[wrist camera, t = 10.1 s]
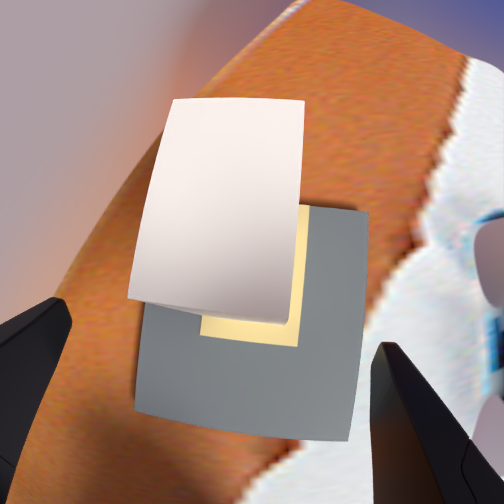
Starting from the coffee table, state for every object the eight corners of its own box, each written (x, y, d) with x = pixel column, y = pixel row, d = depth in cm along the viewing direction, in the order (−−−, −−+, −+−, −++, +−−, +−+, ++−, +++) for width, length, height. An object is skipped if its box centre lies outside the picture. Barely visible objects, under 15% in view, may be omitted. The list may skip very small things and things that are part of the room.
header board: (344, 435, 18) (356, 456, 14) (141, 407, 20) (115, 419, 16) (364, 217, 22) (379, 195, 18) (169, 202, 23) (150, 179, 20)
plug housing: (284, 325, 19) (288, 319, 8) (216, 318, 20) (127, 298, 8) (294, 224, 21) (304, 101, 9) (229, 219, 21) (173, 99, 10)
